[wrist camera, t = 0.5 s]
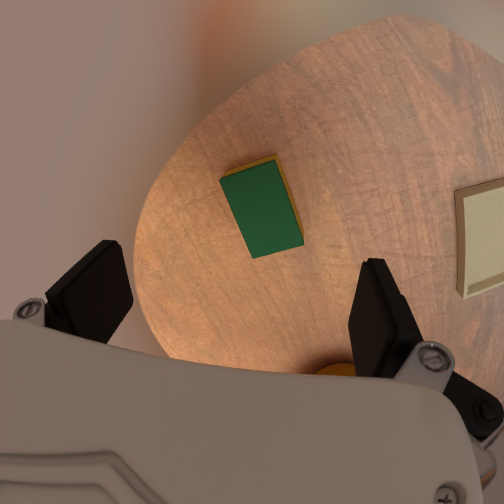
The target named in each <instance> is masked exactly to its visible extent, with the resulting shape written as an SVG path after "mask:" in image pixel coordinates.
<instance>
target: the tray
mask: <svg viewBox="0 0 504 504" xmlns="http://www.w3.org/2000/svg"><path fill="white" fill-rule="evenodd" d="M455 202H456V216H457V236H458V277H457V291H458V293H459V294H460V296H461V297H462V299H463V300H465V299H467V298H470V297H473V296H475V295H478V294H481V293H483V292H486V291H488V290H491V289H493V288H496V287H498V286H501V285H503V284H504V178H502V179H499V180H495V181H491V182H487V183H484V184H480V185H476V186H473V187H469V188H465V189H462V190H458V191H455Z"/></svg>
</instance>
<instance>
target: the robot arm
mask: <svg viewBox="0 0 504 504" xmlns="http://www.w3.org/2000/svg"><path fill="white" fill-rule="evenodd" d="M45 295H46V298H47V300H48V302H47V303H46V304H45V302H44V301H43V299H41V298H30V299H28V300H25V301H24V302H22V303H21V304H20V305H19V306H17V308H16V309H15V311H14V315H13V320H0V504H504V421H503V419H504V410H503V407H502V405H501V403H500V402H499V400H498V399H497V398H496V397H494V396H493V395H491V394H490V393H488V392H487V391H485V390H483V389H482V388H480V387H478V386H477V385H475V384H474V383H472V382H470V381H469V380H467V379H465V378H464V377H462V376H461V375H459V374H457V373H456V372H454V371H453V369H454V366H455V360H454V356H453V355H452V353H451V351H450V350H449V349H448V348H447V347H445V346H444V345H442V344H440V343H438V342H435V341H424V340H423V338H422V335H421V333H420V331H419V328H418V326H417V323H416V321H415V319H414V317H413V314H412V312H411V310H410V307H409V305H408V303H407V301H406V299H405V297H404V295H401V294H400V291H399V289H398V287H397V285H396V283H395V281H394V278H393V276H392V274H391V272H390V270H389V268H388V266H387V264H386V262H385V260H384V259H378V258H368V260H367V262H364V261H363V263H362V266H361V271H360V275H359V280H358V284H357V288H356V293H355V297H354V301H353V305H352V309H351V313H350V317H349V321H348V329H349V335H350V341H351V347H352V353H353V359H354V366H355V373H356V377H354V376H334V375H310V374H294V373H281V372H269V371H259V370H249V369H241V368H232V367H225V366H218V365H211V364H204V363H197V362H191V361H185V360H179V359H174V358H168V357H163V356H158V355H153V354H148V353H143V352H138V351H133V350H129V349H125V348H120V347H116V346H112V345H108V344H107V342H108V341H109V339H110V338H111V336H112V335H113V333H114V332H115V331H116V329H117V328H118V326H119V325H120V323H121V322H122V320H123V319H124V317H125V316H126V314H127V313H128V311H129V310H130V309H131V307H132V305H133V296H132V292H131V288H130V284H129V280H128V275H127V271H126V266H125V262H124V257H123V252H122V248H121V246H120V245H119V244H118V242H117V241H114V240H103V241H101V242H100V243H99V244H98V245H96V246H95V247H94V248H93V249H92V250H91V251H89V252H88V253H87V254H86V255H85V256H84V257H83V258H82V259H81V260H79V261H78V262H77V263H76V264H75V265H74V266H73V267H72V268H71V269H70V270H69V271H67V272H66V273H65V274H64V275H63V276H62V277H61V278H60V279H59V280H58V281H57V282H56V283H55V284H54V285H53V286H52V287H51V288H50V289H49V290H48V291H47V292H46V293H45Z"/></svg>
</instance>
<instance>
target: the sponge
mask: <svg viewBox="0 0 504 504" xmlns="http://www.w3.org/2000/svg"><path fill="white" fill-rule="evenodd" d="M219 182H220V184H221V187H222V189H223V191H224V194H225V196H226V198H227V201H228V203H229V205H230V208H231V210H232V212H233V215H234V217H235V219H236V221H237V224H238V226H239V228H240V231H241V233H242V235H243V238H244V240H245V242H246V245H247V247H248V249H249V252H250V254H251V256H252V258H253V259H254V258H258V257H261V256H265V255H269V254H272V253H276V252H280V251H284V250H287V249H291V248H295V247H298V246H302V245H304V234H303V227H302V224H301V221H300V218H299V215H298V212H297V209H296V206H295V203H294V200H293V197H292V194H291V192H290V189H289V186H288V183H287V180H286V178H285V175H284V172H283V169H282V167H281V164H280V161H279V158H278V156H277V154H274V155H271V156H268V157H265V158H262V159H259V160H256V161H253V162H251V163H248V164H245V165H242V166H239V167H237V168H234V169H231V170H228V171H227V172H226V173H225V174H224V175H223V176H222V178H221V179H220V180H219Z"/></svg>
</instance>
